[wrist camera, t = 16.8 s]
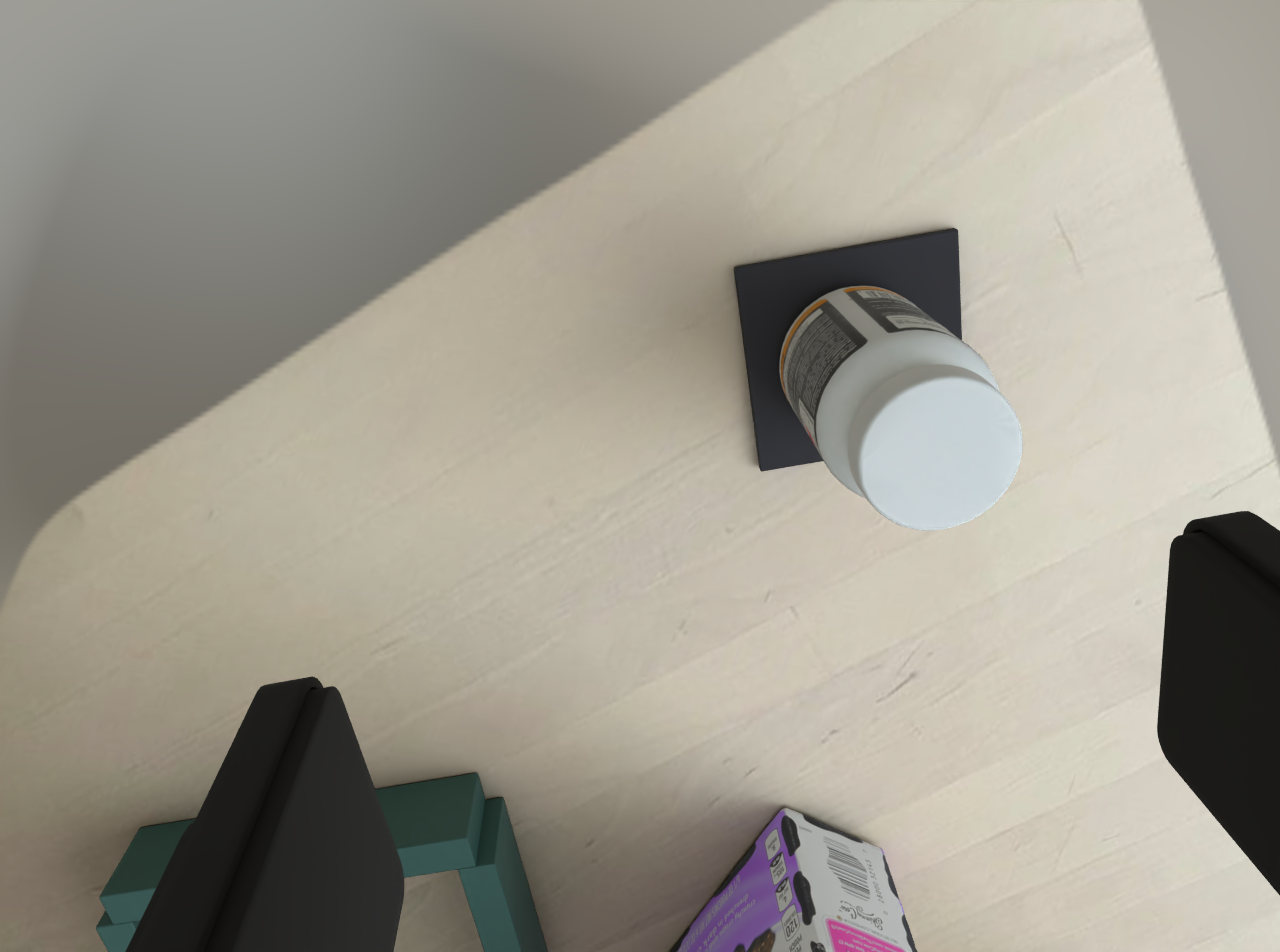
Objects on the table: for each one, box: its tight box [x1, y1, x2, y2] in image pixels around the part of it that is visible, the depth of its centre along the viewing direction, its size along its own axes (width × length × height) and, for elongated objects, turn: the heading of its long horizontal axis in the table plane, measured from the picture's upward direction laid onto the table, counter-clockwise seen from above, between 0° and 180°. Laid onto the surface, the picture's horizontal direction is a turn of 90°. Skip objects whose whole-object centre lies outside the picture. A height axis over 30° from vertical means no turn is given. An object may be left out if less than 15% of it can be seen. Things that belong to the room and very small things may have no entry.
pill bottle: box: [779, 286, 1022, 530], centre depth 32 cm, size 6×6×10 cm
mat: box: [734, 228, 962, 471], centre depth 36 cm, size 8×8×1 cm
